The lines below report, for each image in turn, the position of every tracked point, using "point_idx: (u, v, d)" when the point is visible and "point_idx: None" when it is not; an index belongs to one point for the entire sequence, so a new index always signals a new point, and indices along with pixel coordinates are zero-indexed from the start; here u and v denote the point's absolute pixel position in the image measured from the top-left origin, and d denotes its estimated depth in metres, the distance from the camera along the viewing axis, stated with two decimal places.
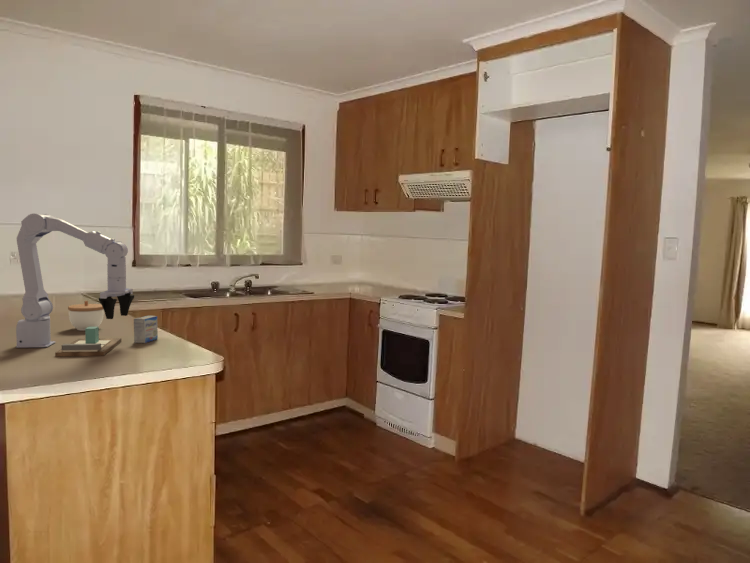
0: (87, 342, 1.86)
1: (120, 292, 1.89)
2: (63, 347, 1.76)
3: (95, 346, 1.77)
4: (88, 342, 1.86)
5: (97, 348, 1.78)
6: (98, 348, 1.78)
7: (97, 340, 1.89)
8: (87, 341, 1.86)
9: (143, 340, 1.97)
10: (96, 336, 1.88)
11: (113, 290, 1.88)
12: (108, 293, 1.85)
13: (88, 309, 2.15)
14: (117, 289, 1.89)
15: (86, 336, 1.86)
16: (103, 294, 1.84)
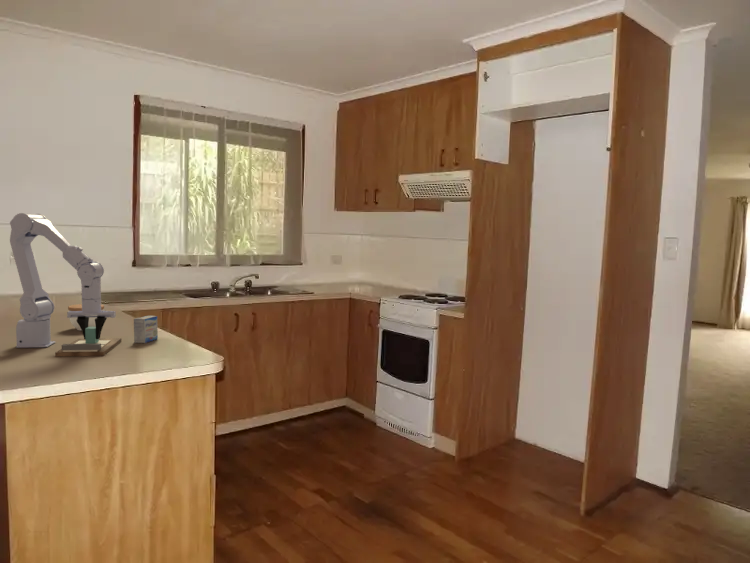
0: (87, 342, 1.86)
1: (83, 313, 1.85)
2: (63, 347, 1.76)
3: (95, 346, 1.77)
4: (88, 342, 1.86)
5: (97, 348, 1.78)
6: (98, 348, 1.78)
7: (97, 340, 1.89)
8: (87, 341, 1.86)
9: (143, 340, 1.97)
10: None
11: (81, 311, 1.86)
12: (71, 313, 1.85)
13: None
14: (82, 310, 1.85)
15: (86, 336, 1.86)
16: None
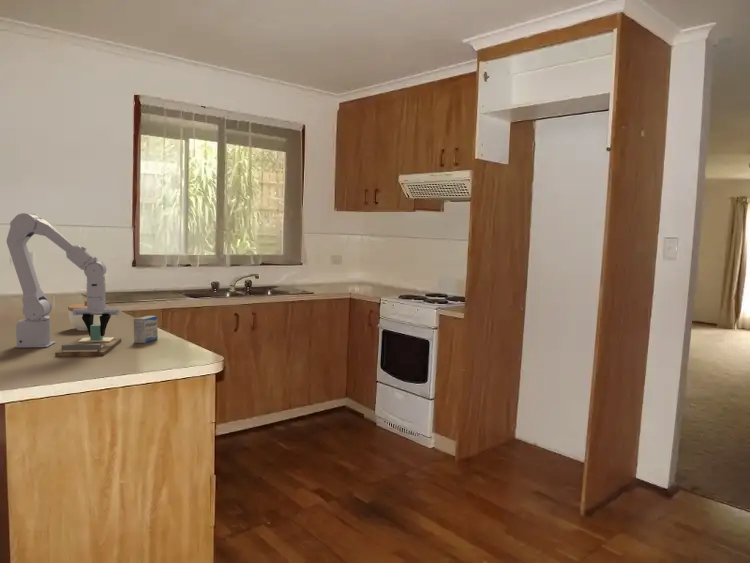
0: (92, 339, 1.91)
1: (88, 311, 1.90)
2: (63, 347, 1.76)
3: (95, 346, 1.77)
4: (92, 339, 1.91)
5: (97, 348, 1.78)
6: (98, 348, 1.78)
7: (101, 337, 1.94)
8: (92, 338, 1.91)
9: (143, 340, 1.97)
10: None
11: (87, 308, 1.92)
12: (77, 310, 1.91)
13: None
14: (87, 307, 1.91)
15: (91, 333, 1.91)
16: None
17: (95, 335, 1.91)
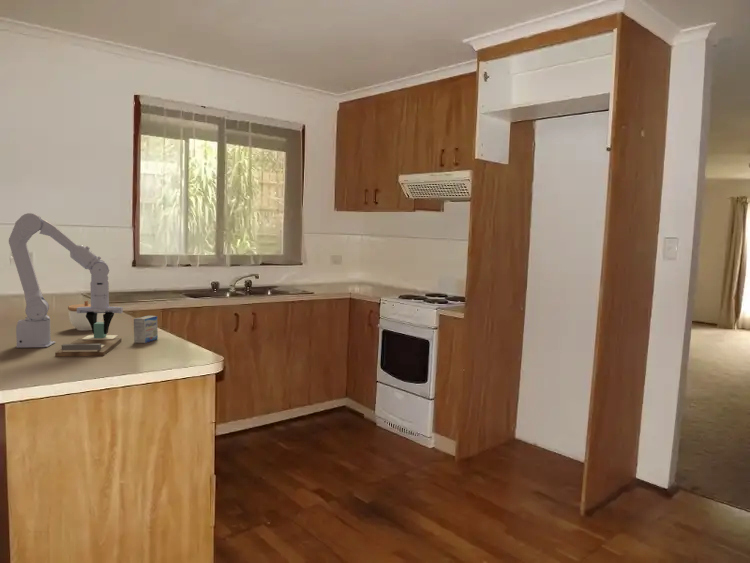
0: (95, 337, 1.95)
1: (92, 309, 1.94)
2: (63, 347, 1.76)
3: (95, 346, 1.77)
4: (96, 336, 1.95)
5: (97, 348, 1.78)
6: (98, 348, 1.78)
7: (105, 335, 1.98)
8: (95, 336, 1.95)
9: (143, 340, 1.97)
10: None
11: None
12: (80, 309, 1.95)
13: None
14: (91, 306, 1.95)
15: (94, 331, 1.95)
16: None
17: (98, 333, 1.95)
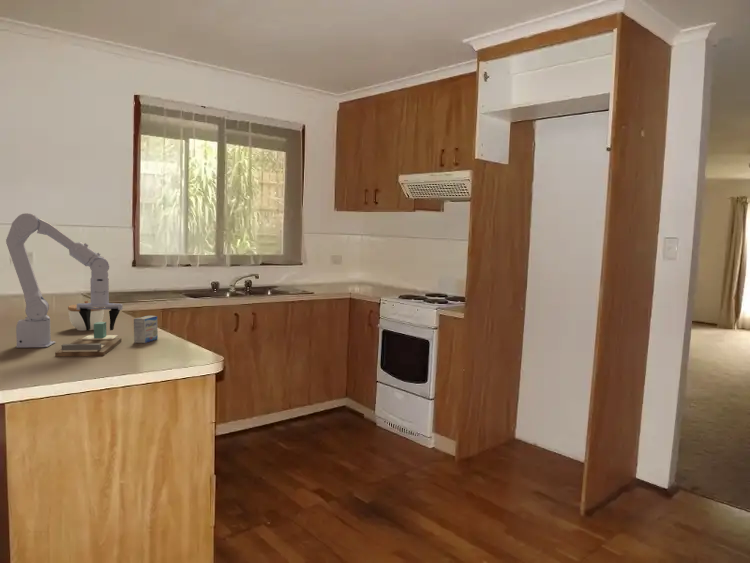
0: (95, 337, 1.95)
1: (92, 305, 1.94)
2: (63, 347, 1.76)
3: (95, 346, 1.77)
4: (96, 336, 1.95)
5: (97, 348, 1.78)
6: (98, 348, 1.78)
7: (105, 335, 1.98)
8: (95, 336, 1.95)
9: (143, 340, 1.97)
10: (104, 331, 1.97)
11: (90, 303, 1.95)
12: (80, 305, 1.94)
13: None
14: (91, 302, 1.94)
15: (94, 331, 1.95)
16: None
17: (98, 333, 1.95)
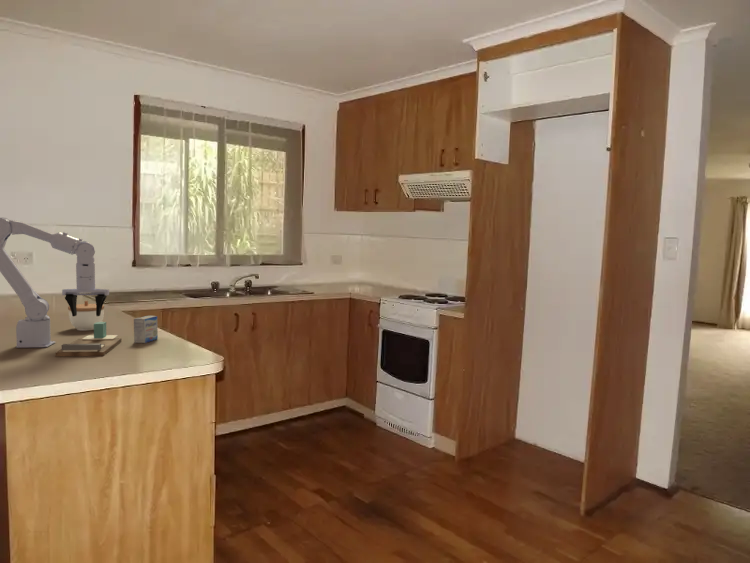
0: (95, 337, 1.95)
1: (78, 291, 1.91)
2: (63, 347, 1.76)
3: (95, 346, 1.77)
4: (96, 336, 1.95)
5: (97, 348, 1.78)
6: (98, 348, 1.78)
7: (105, 335, 1.98)
8: (95, 336, 1.95)
9: (143, 340, 1.97)
10: (104, 331, 1.97)
11: None
12: (66, 290, 1.92)
13: (88, 309, 2.15)
14: (77, 287, 1.92)
15: (94, 331, 1.95)
16: None
17: (98, 333, 1.95)
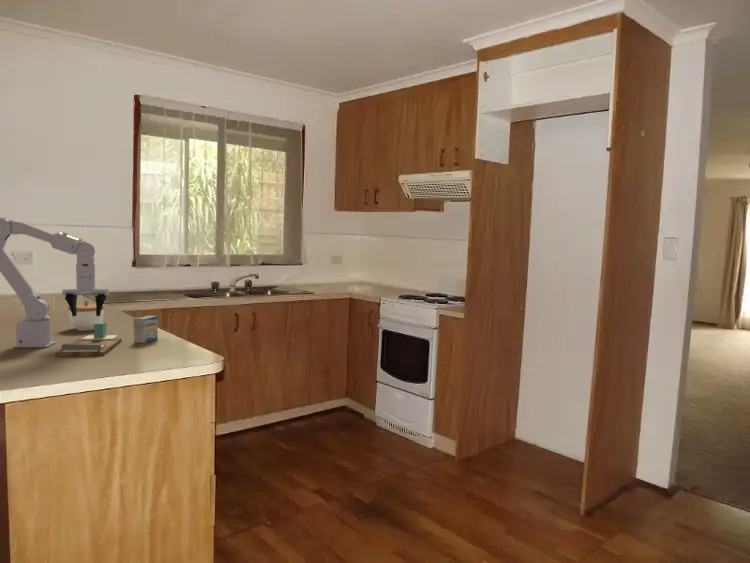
0: (95, 337, 1.95)
1: (78, 291, 1.91)
2: (63, 347, 1.76)
3: (95, 346, 1.77)
4: (96, 336, 1.95)
5: (97, 348, 1.78)
6: (98, 348, 1.78)
7: (105, 335, 1.98)
8: (95, 336, 1.95)
9: (143, 340, 1.97)
10: (104, 331, 1.97)
11: None
12: (66, 290, 1.92)
13: (88, 309, 2.15)
14: (77, 287, 1.92)
15: (94, 331, 1.95)
16: None
17: (98, 333, 1.95)
